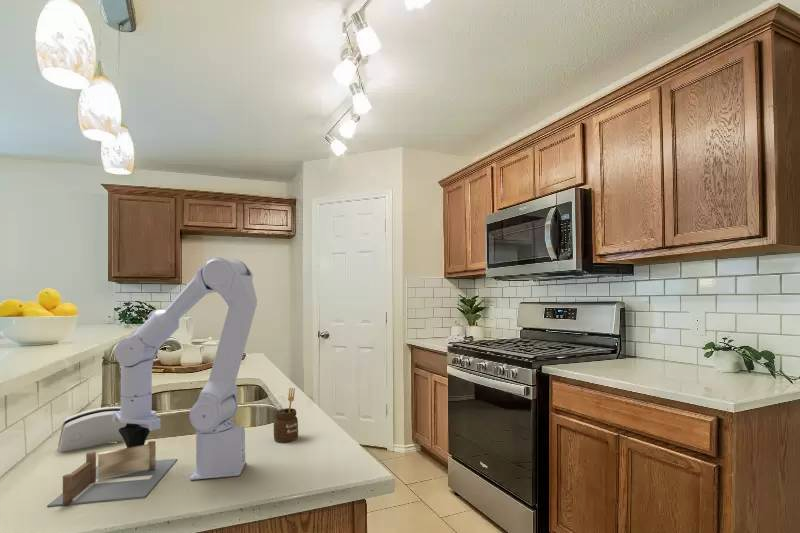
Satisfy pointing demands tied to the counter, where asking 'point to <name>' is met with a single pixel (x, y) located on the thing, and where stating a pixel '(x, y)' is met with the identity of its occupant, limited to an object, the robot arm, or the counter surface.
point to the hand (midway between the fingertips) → (135, 459)
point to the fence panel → (127, 460)
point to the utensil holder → (286, 422)
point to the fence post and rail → (79, 479)
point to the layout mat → (120, 485)
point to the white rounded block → (90, 429)
